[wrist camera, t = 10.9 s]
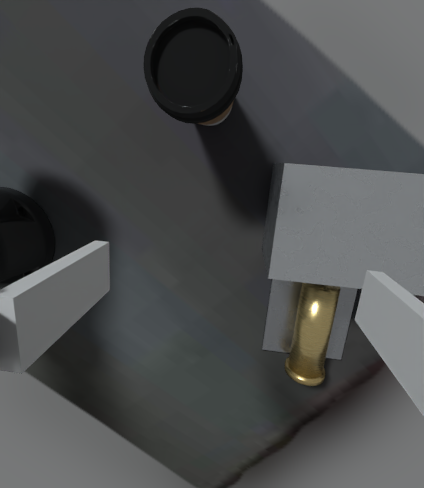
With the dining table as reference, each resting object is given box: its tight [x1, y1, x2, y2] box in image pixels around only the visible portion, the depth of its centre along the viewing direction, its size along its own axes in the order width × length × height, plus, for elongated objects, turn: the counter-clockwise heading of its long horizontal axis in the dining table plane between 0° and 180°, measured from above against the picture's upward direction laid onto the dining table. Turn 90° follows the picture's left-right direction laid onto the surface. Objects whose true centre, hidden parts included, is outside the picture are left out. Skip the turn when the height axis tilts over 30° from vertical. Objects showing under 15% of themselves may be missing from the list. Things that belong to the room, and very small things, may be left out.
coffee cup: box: [144, 8, 243, 126], centre depth 30 cm, size 8×8×15 cm
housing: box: [262, 163, 424, 360], centre depth 36 cm, size 16×28×11 cm, turn 176°
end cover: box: [285, 282, 341, 386], centre depth 40 cm, size 6×14×6 cm, turn 176°
